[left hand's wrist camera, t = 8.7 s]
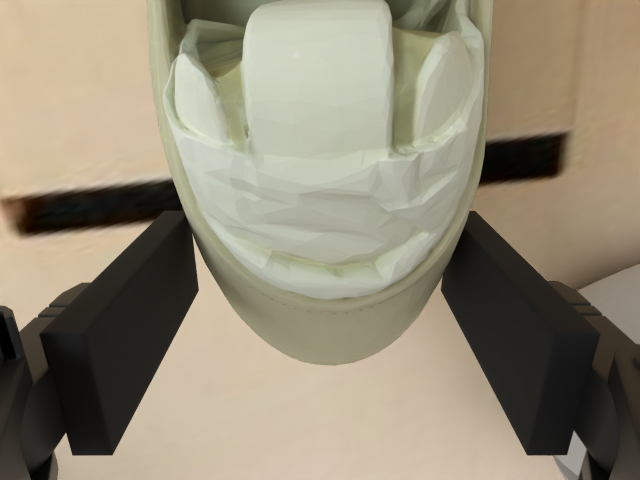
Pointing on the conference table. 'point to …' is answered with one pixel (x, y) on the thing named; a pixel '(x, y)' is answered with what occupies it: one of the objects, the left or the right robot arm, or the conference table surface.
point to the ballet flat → (324, 155)
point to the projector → (629, 316)
